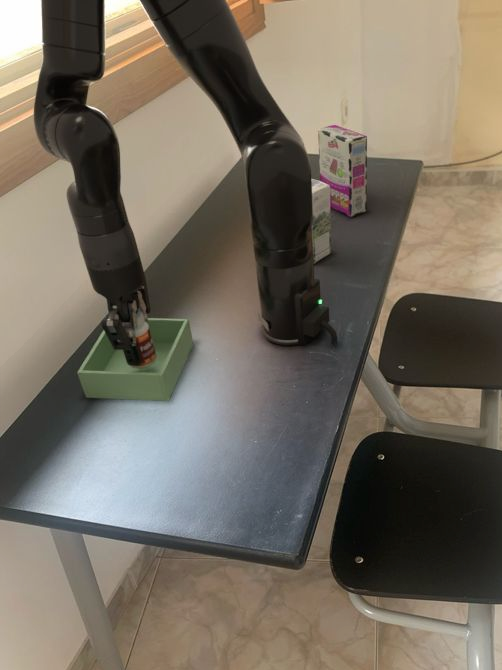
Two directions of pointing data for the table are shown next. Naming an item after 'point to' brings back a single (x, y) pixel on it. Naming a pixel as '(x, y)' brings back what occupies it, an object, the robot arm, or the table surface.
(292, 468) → the table surface
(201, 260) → the table surface
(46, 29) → the robot arm
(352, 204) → the candy bar box
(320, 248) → the syrup box
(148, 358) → the pill bottle
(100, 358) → the basket
